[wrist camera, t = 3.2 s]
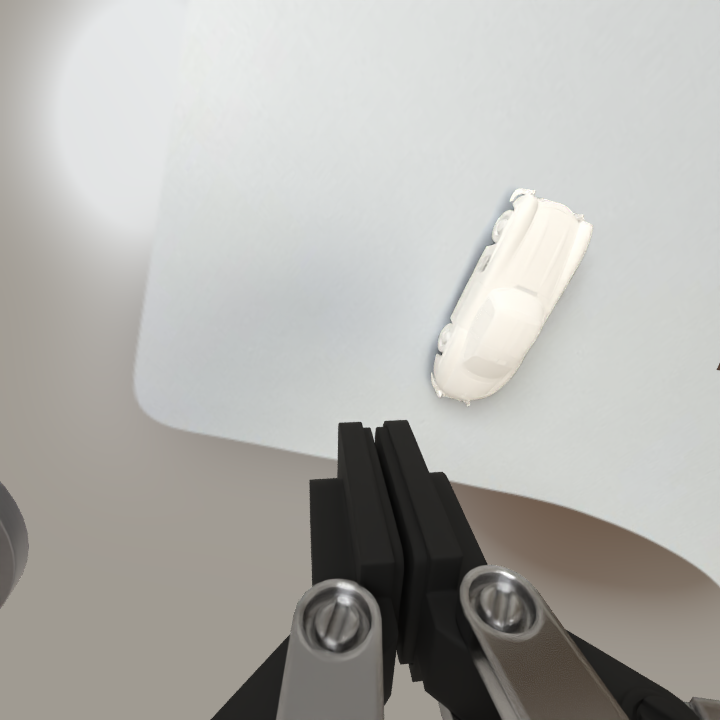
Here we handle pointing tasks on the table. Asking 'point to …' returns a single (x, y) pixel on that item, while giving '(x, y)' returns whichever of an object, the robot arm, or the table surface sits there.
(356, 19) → the table surface
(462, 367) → the toy car
